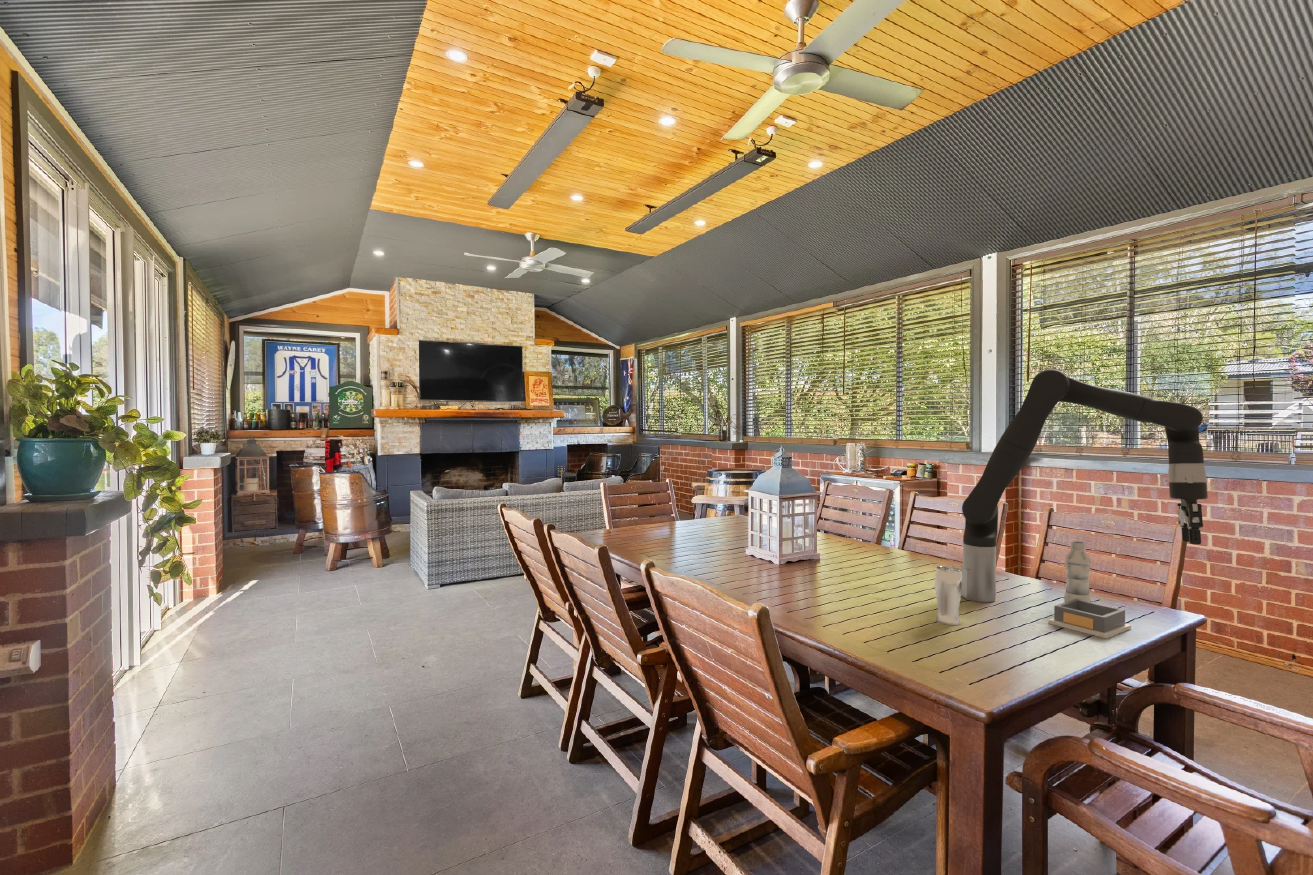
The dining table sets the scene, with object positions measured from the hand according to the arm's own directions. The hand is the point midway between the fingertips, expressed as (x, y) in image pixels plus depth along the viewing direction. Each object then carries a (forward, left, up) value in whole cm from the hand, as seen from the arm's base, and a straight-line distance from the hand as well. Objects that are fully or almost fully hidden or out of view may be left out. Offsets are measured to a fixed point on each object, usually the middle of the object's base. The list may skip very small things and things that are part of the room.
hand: (1191, 542), depth 157 cm
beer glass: (-60, +1, -24) cm, 64 cm away
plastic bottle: (-18, +19, -24) cm, 35 cm away
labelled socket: (-23, +3, -24) cm, 33 cm away
